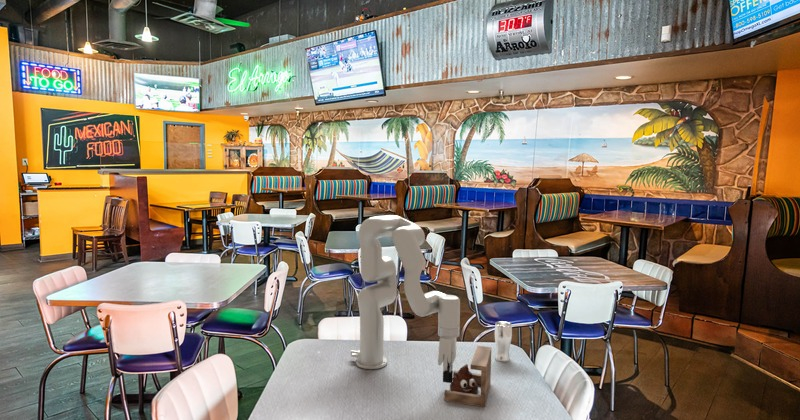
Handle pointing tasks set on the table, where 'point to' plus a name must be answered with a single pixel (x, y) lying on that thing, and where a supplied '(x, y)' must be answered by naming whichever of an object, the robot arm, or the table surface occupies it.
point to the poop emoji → (464, 381)
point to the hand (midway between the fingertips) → (447, 381)
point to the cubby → (478, 363)
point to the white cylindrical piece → (503, 340)
